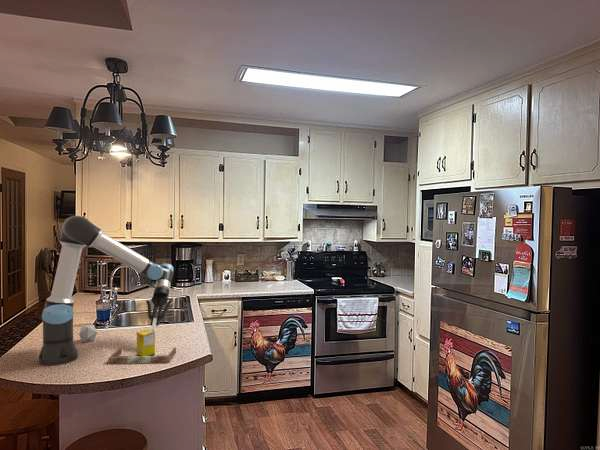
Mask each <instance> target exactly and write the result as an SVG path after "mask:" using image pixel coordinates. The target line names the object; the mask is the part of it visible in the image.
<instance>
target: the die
mask: <svg viewBox="0 0 600 450" xmlns="http://www.w3.org/2000/svg"><path fill="white" fill-rule="evenodd" d="M97 334H98V331H97V329H96V327H95V325H94V324H90V325H89V324H88V325H82V326H81V328H80V331H79V333H78V335H79V338H80V340H81V342H82V343H88V342H94V341H95V339H96V336H97Z"/></svg>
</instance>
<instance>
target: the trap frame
mask: <svg viewBox="0 0 600 450" xmlns="http://www.w3.org/2000/svg"><path fill="white" fill-rule="evenodd" d="M176 354H177V347H173V349H172V350H171V351H170V352H169V354H168V355H153V356H140V357H139V356H134V355H122V348H120V347H119V348H118V349H117V350H115V352H113V353H112V354H110V356H109V357H107V358H108V363H107V364H146V363H147V364H154V363H156V364H157V363H160V364H161V363H167V364H168V363H170V362H171V361H172V359H173V358H174V357H175V356H176Z"/></svg>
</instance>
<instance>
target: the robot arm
mask: <svg viewBox="0 0 600 450" xmlns="http://www.w3.org/2000/svg"><path fill="white" fill-rule="evenodd" d="M59 243H60V245H61V249H60V254H59V259H58V263H57V267H56V272H55V276H54V280H53V286H52V289H51V294H50V296H48V297H47V298H46V300H45V304H44V308H43V311H42V313H41V320H42V345H41V349H40V352H39V354H38V364H39V365H43V366H57V365H64V364H67V363H70V362H73V361H75V360H76V359H77V358H79V356H78V355H79V351H78V349H77V346H76V343H75V342H74V341H75V340H74V304H75V300H74V299H73V298H72V297H73V292H74V288H75V283H76V278H77V275H78V271H79V270H78V269H79V265H80V261H81V256H82V251H83V249H84V248H85V247H89V248H91V247H93V248H94V249H96V250H99V251H100V252H102V253H104V254H105V255H108V256H109V257H111V258H113V259H115V260H116V261H118V262H120V263H122V264H123V265H125V266H127V267H129V268H131V269H132V270H134V271H135V272H136V273H137V274H140V275H143V276H144V277H146V278H148V279H150V280H155V286H154V291H153V295H152V297H151V299H150V300H146V301H145V302H146V305H147V317H148V318H149V320H150V326H151V329H150V330H151V331H153V332H155V334H156V331H157V328H158V327H159V325H160V322H161V320H165V318H166V316H167V314H168V312H169V310H170V307H171V306H172V305H173V301H172V300H171V299H169V295H170V290H171V286H172V285H171V284H172V279H173V276H174V266H173V265H172V264H170V263H165V262H164V263H160V264H158V263H155V262H154V261H152V260H150V259H149V258H146V256H143V255H142V254H139V253H138V252H137V251H135V250H133V249H131V248H130V247H128V246H127V245H125V244H122V243H121V242H119V241H118V240H115V239H114V238H113V237H110V235H107V234H106V233H104V232H103V230H102V229H101V228H100V227H98V226H97V225H95V224H94V223H93V222H91V221H90V220H89V219H88V218H87V217H84V216H80V215H71V216H69V217H67V218H66V219H65V220H63V223H62V224H61V232H60V237H59ZM152 304H153V309H152ZM164 306H165V307H164Z"/></svg>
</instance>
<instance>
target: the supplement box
mask: <svg viewBox="0 0 600 450" xmlns="http://www.w3.org/2000/svg"><path fill="white" fill-rule="evenodd" d="M155 334H156V333H155V332H153V331H151V329H150V330H149V329H146V330H142V331H137V332H136V357H140V356H156V339H155V338H156V335H155Z"/></svg>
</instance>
